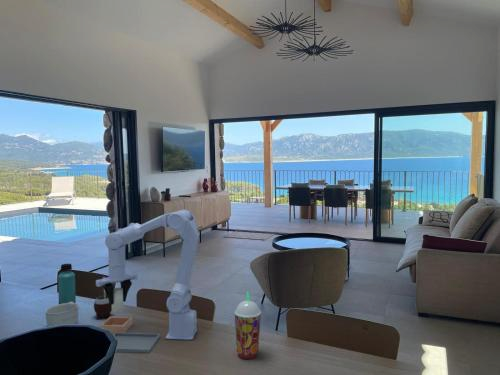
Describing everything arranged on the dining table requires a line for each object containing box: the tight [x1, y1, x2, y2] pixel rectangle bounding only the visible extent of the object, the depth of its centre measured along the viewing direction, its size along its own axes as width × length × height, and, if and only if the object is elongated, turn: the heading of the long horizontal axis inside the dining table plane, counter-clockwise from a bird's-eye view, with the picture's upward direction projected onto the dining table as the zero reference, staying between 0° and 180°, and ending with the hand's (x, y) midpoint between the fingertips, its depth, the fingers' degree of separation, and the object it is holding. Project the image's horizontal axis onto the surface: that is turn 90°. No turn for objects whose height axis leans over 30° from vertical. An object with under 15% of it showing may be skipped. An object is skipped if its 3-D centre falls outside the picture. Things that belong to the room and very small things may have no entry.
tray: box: [114, 332, 161, 354], centre depth 126 cm, size 16×12×2 cm
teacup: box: [44, 302, 79, 328], centre depth 141 cm, size 14×11×8 cm
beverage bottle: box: [57, 263, 77, 304], centre depth 155 cm, size 6×7×20 cm
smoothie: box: [233, 291, 262, 360], centre depth 120 cm, size 8×8×20 cm
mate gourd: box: [93, 276, 112, 320], centre depth 150 cm, size 8×8×15 cm
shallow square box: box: [99, 316, 133, 335], centre depth 139 cm, size 9×9×3 cm
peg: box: [111, 287, 124, 314], centre depth 138 cm, size 4×4×8 cm
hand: (117, 302), depth 138 cm, fingers closed on peg, 4 cm apart
